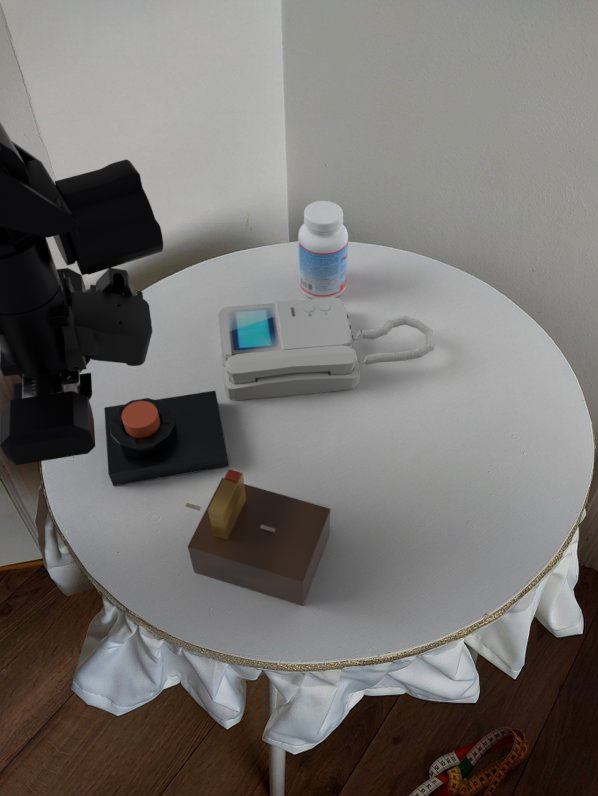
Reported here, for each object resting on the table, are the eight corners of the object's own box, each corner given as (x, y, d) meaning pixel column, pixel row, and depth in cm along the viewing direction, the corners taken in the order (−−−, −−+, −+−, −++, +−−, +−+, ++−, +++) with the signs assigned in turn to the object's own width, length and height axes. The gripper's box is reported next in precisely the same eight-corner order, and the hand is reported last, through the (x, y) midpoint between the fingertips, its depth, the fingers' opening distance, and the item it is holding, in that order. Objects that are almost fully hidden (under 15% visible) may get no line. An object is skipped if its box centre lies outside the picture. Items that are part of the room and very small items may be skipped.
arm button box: (112, 486, 75) (104, 463, 71) (108, 420, 80) (100, 396, 77) (229, 466, 77) (225, 443, 73) (217, 403, 82) (213, 379, 79)
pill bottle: (351, 297, 93) (356, 223, 84) (306, 306, 92) (306, 231, 83) (337, 267, 97) (340, 193, 88) (293, 275, 95) (292, 201, 86)
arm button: (126, 441, 74) (122, 430, 72) (123, 414, 76) (120, 403, 74) (161, 435, 74) (159, 424, 73) (158, 409, 76) (156, 398, 75)
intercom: (446, 355, 81) (222, 375, 78) (440, 382, 85) (226, 402, 82) (420, 278, 89) (216, 294, 86) (416, 305, 93) (219, 321, 90)
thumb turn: (227, 540, 65) (222, 512, 62) (213, 536, 66) (207, 508, 62) (246, 500, 68) (243, 470, 64) (232, 495, 68) (228, 466, 65)
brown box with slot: (175, 566, 69) (167, 539, 65) (209, 500, 74) (203, 470, 70) (303, 606, 67) (302, 580, 63) (329, 535, 72) (330, 507, 68)
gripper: (144, 364, 48) (177, 495, 60) (125, 199, 58) (156, 339, 71) (-35, 390, 46) (37, 520, 58) (-21, 214, 56) (38, 356, 69)
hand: (74, 425), depth 64 cm, fingers closed
